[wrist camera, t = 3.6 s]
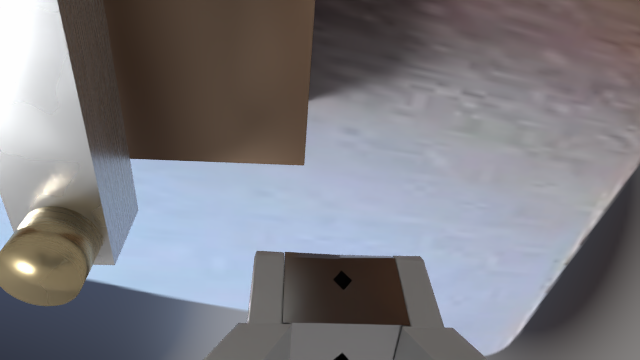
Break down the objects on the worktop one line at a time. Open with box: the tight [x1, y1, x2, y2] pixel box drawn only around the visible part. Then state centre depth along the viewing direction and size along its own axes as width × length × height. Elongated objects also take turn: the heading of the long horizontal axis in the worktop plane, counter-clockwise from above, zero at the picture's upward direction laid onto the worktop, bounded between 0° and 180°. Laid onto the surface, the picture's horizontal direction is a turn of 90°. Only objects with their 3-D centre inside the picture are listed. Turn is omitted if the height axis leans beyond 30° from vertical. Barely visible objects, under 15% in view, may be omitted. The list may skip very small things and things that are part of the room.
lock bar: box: [0, 0, 138, 306], centre depth 10 cm, size 13×4×4 cm, turn 176°
